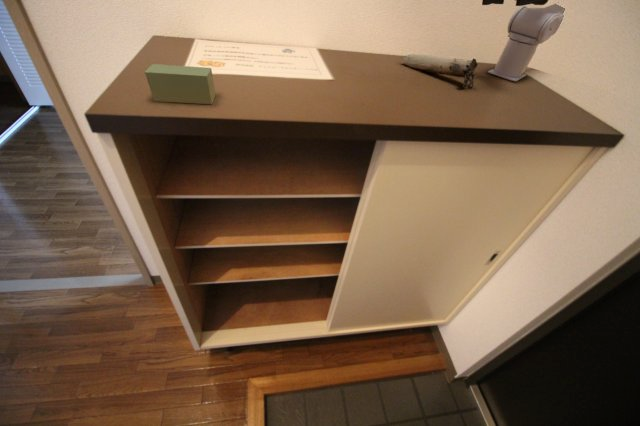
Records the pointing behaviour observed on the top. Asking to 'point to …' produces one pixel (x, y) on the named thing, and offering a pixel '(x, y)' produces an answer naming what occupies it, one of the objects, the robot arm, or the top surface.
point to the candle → (444, 66)
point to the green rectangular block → (181, 84)
